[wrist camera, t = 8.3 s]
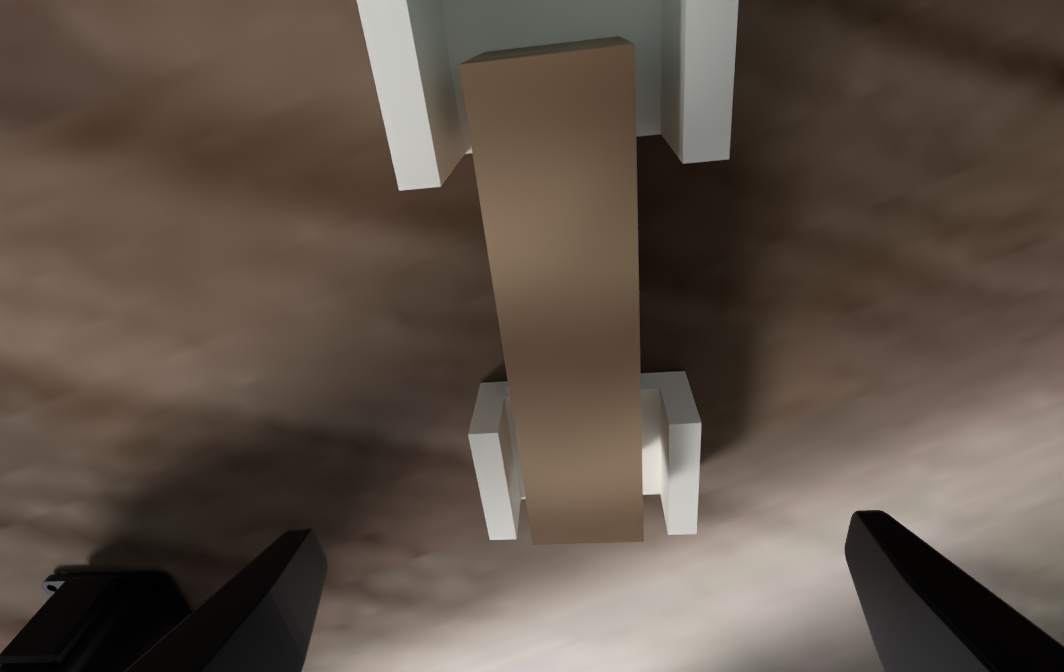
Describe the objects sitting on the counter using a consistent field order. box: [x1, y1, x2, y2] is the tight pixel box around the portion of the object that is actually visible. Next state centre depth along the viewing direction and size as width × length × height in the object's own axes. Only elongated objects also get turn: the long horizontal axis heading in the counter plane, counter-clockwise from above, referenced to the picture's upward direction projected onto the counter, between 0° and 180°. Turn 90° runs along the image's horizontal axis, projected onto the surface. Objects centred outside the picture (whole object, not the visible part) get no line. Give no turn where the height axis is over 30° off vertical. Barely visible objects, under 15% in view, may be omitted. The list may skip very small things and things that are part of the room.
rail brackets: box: [357, 0, 739, 540], centre depth 16 cm, size 20×8×6 cm, turn 6°
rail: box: [459, 36, 644, 545], centre depth 16 cm, size 14×4×4 cm, turn 6°
